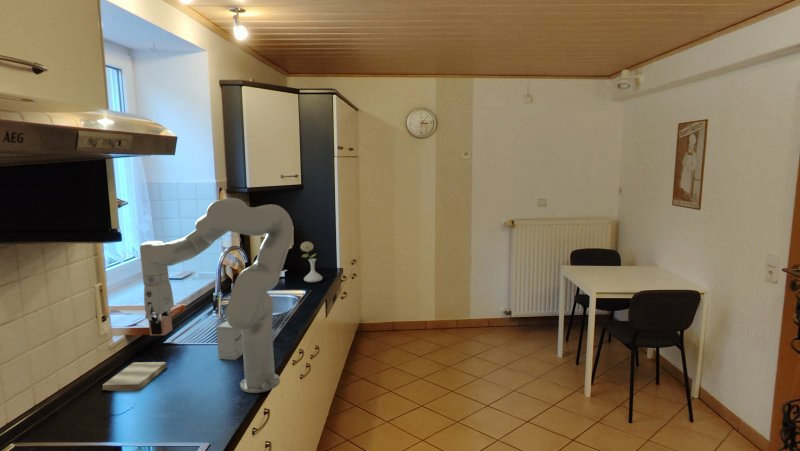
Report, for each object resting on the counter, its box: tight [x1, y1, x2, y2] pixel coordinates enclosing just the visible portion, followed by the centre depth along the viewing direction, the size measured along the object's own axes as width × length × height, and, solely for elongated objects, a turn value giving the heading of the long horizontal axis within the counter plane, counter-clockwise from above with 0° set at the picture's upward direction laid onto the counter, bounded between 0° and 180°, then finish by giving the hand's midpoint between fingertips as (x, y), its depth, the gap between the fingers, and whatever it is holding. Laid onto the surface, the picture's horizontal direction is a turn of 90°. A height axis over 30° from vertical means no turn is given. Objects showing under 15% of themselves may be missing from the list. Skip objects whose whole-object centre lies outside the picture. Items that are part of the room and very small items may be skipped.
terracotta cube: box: [148, 315, 173, 336], centre depth 157 cm, size 5×5×5 cm
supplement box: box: [215, 320, 243, 361], centre depth 177 cm, size 7×7×13 cm
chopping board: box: [102, 361, 167, 391], centre depth 161 cm, size 17×12×2 cm
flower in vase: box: [300, 241, 323, 283], centre depth 286 cm, size 13×11×25 cm
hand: (161, 330), depth 157 cm, fingers closed on terracotta cube, 5 cm apart
